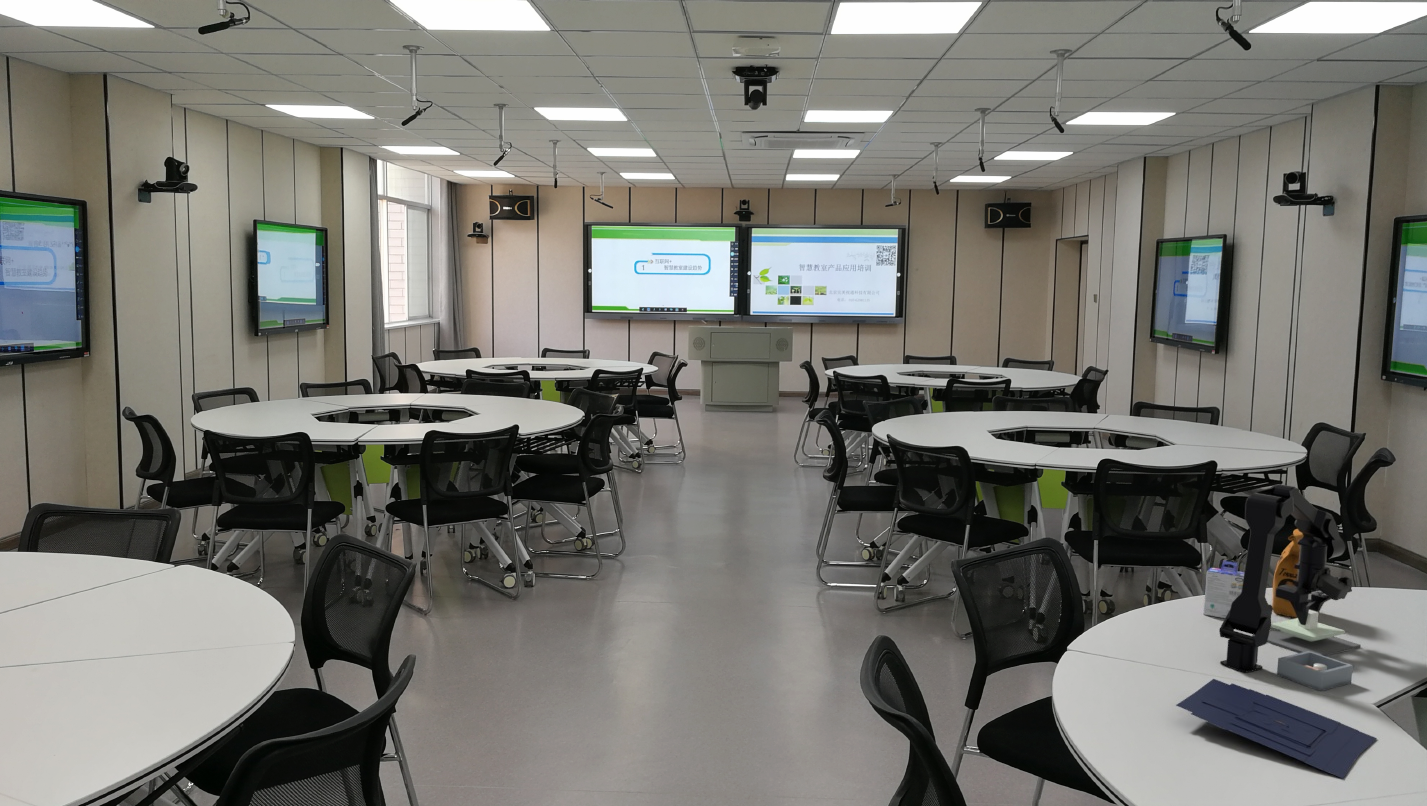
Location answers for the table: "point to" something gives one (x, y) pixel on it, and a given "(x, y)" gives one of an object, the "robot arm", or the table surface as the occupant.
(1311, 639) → the lid
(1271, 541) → the robot arm
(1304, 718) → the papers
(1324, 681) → the storage box
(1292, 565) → the coffee package
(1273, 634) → the rubber mat
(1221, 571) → the ink cartridge box
